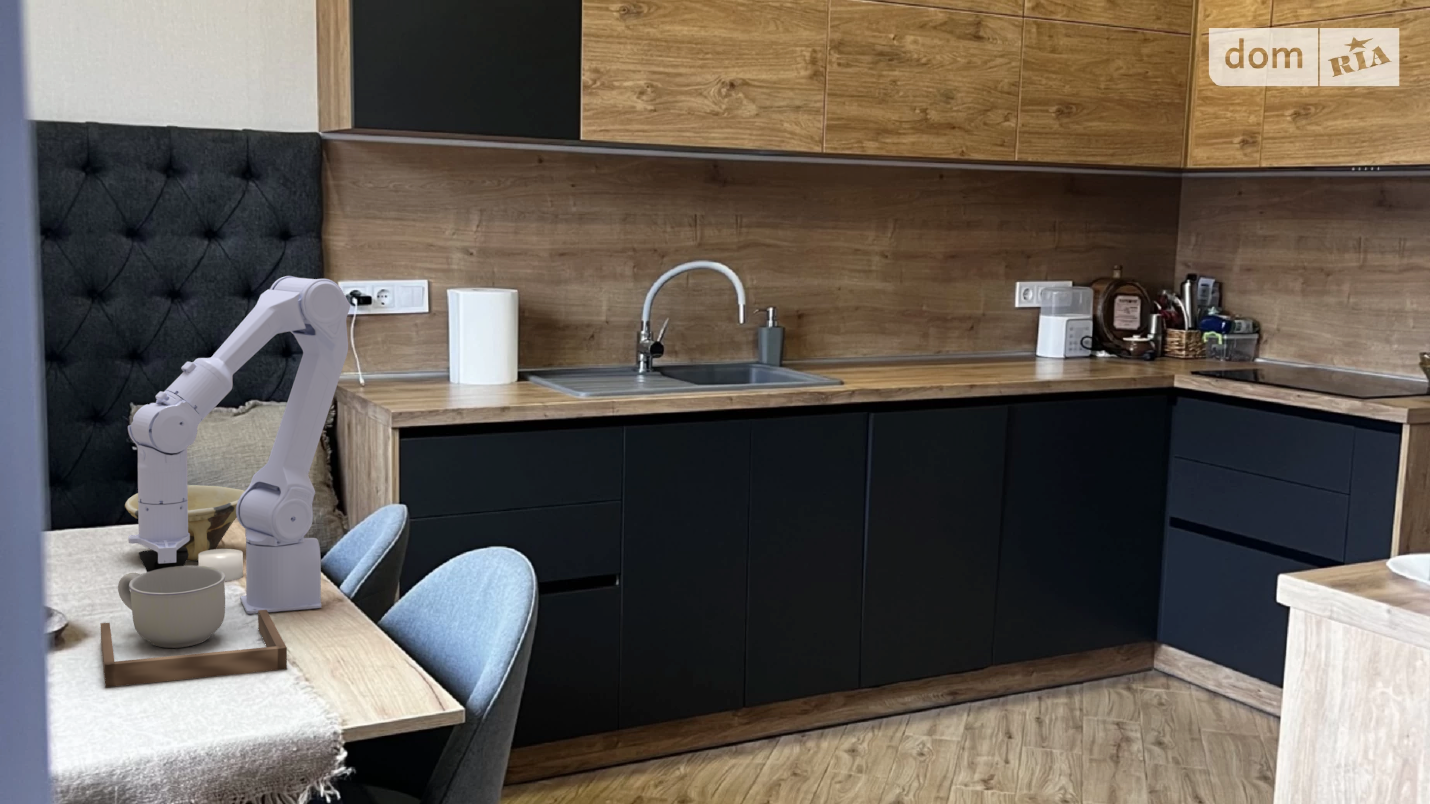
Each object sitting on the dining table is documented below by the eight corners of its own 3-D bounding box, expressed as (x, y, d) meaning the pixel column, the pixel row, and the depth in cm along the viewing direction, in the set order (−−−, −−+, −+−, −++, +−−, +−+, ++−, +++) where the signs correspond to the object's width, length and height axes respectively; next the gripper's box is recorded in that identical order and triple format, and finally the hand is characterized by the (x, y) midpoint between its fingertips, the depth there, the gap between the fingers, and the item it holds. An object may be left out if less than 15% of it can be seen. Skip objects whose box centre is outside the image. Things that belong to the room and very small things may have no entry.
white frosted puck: (240, 571, 200) (240, 547, 199) (245, 580, 194) (245, 556, 194) (196, 574, 197) (196, 550, 196) (200, 584, 192) (200, 559, 191)
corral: (266, 629, 171) (266, 609, 170) (286, 669, 155) (286, 647, 155) (100, 643, 162) (100, 623, 162) (105, 687, 147) (104, 665, 147)
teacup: (245, 637, 166) (244, 573, 165) (171, 660, 157) (169, 593, 156) (169, 618, 173) (168, 557, 172) (94, 639, 164) (91, 575, 163)
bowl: (125, 547, 211) (124, 486, 210) (247, 540, 218) (247, 482, 217) (125, 574, 195) (124, 508, 194) (257, 566, 202) (257, 503, 201)
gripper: (125, 491, 173) (127, 594, 175) (130, 513, 160) (131, 625, 162) (185, 488, 176) (185, 590, 178) (194, 510, 163) (195, 620, 165)
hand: (164, 607), depth 170 cm, fingers closed
